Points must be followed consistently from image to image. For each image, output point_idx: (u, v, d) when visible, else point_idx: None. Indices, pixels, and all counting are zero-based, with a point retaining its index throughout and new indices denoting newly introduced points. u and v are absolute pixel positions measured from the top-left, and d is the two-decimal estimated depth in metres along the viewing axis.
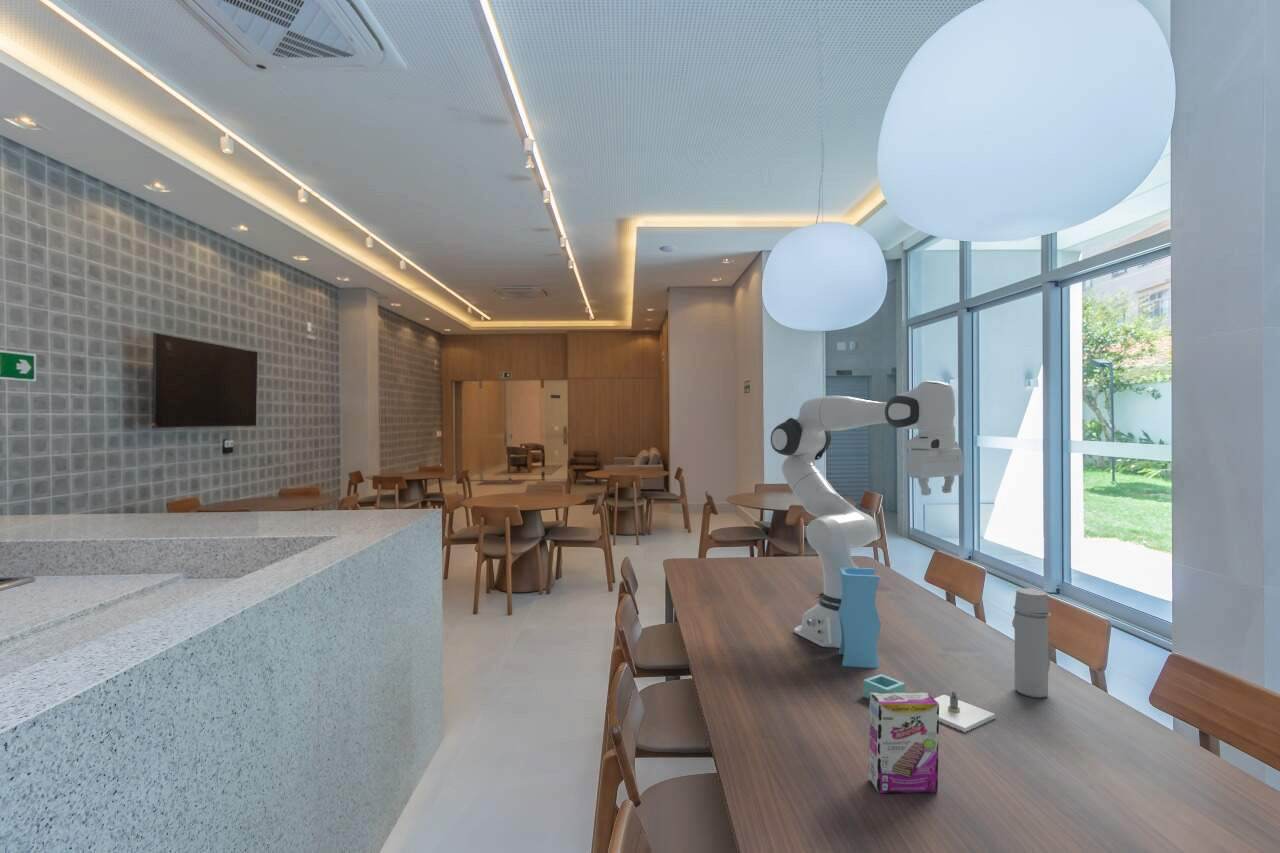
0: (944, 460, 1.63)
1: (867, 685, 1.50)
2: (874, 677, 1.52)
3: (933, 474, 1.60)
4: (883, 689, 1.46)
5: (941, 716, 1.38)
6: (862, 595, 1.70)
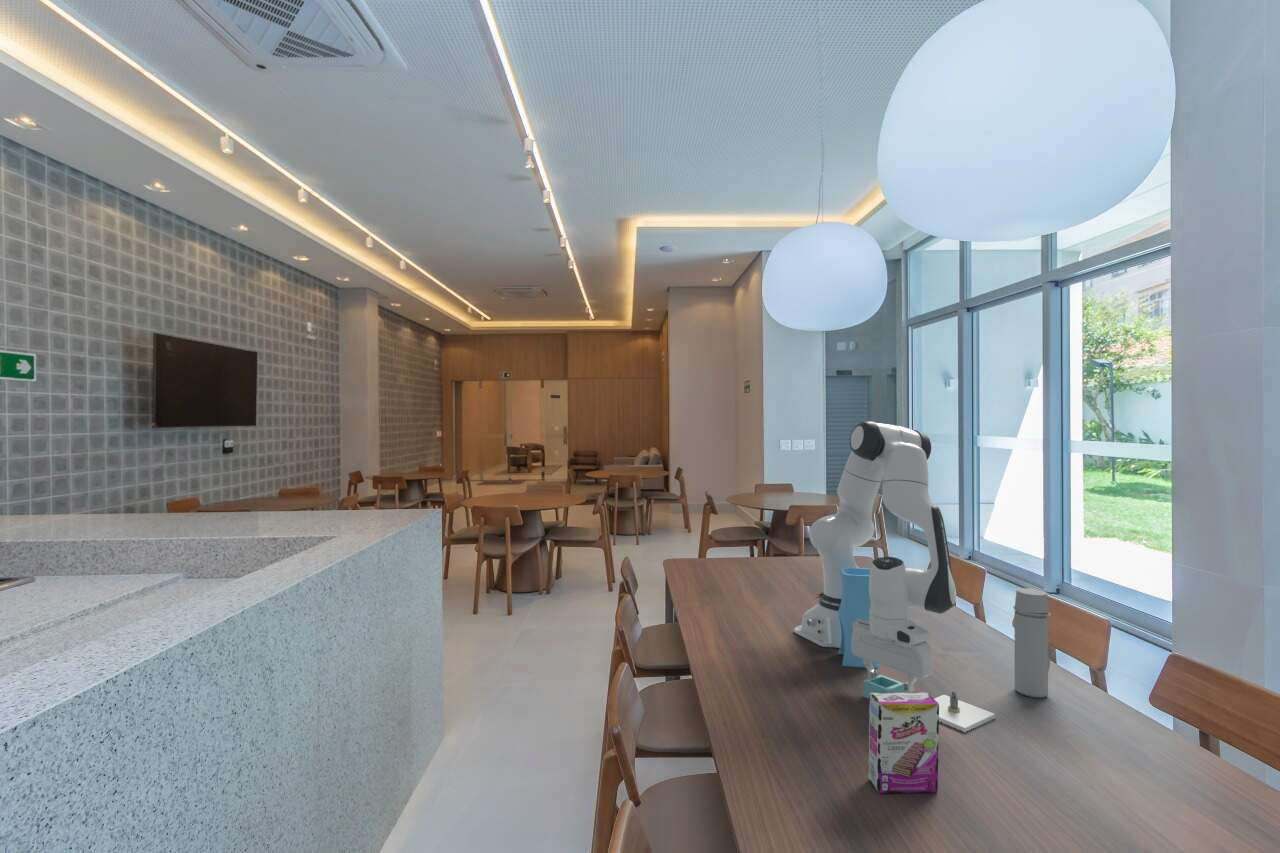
0: None
1: (867, 686, 1.50)
2: (874, 678, 1.52)
3: None
4: (883, 689, 1.46)
5: (941, 716, 1.38)
6: (862, 595, 1.70)
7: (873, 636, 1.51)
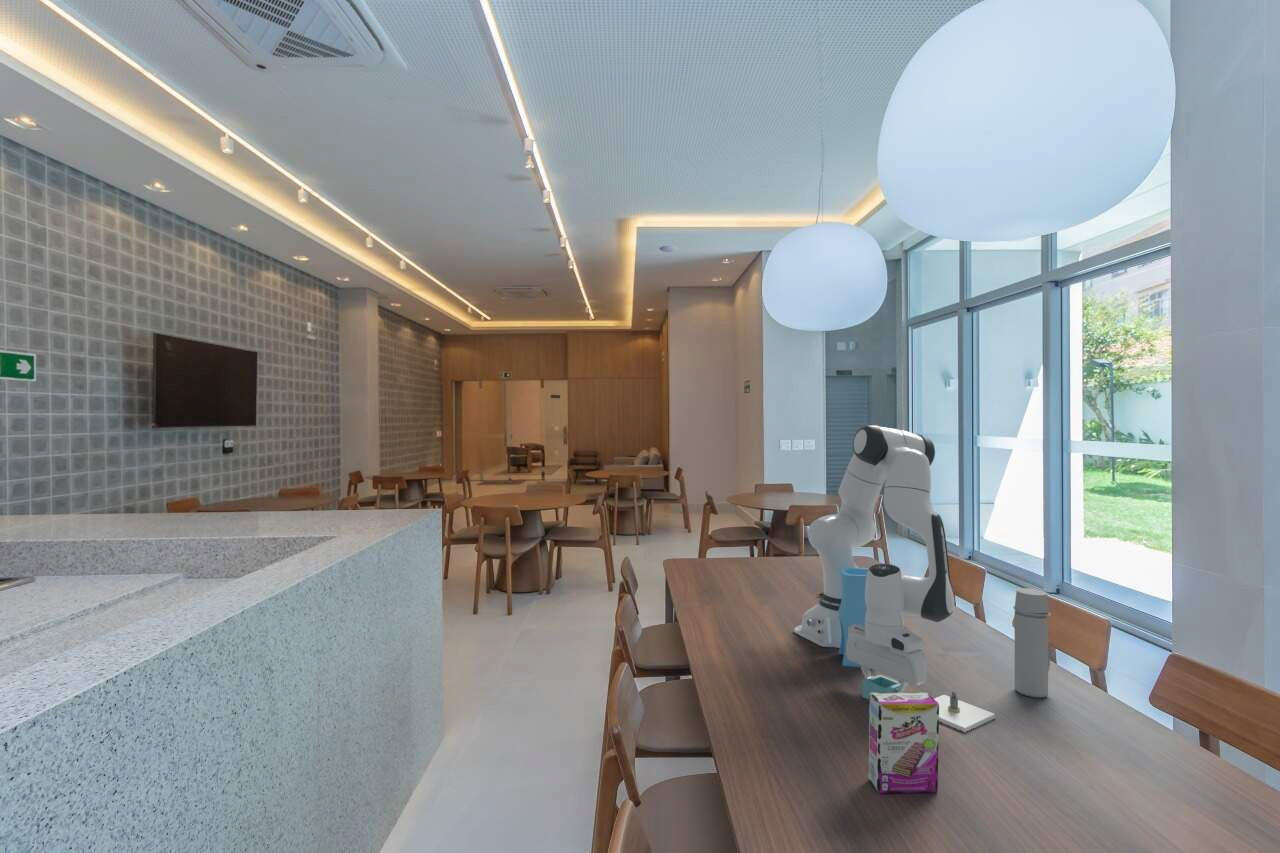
0: None
1: (866, 686, 1.49)
2: (873, 678, 1.52)
3: None
4: (882, 690, 1.46)
5: (941, 716, 1.38)
6: (862, 595, 1.70)
7: (868, 642, 1.51)
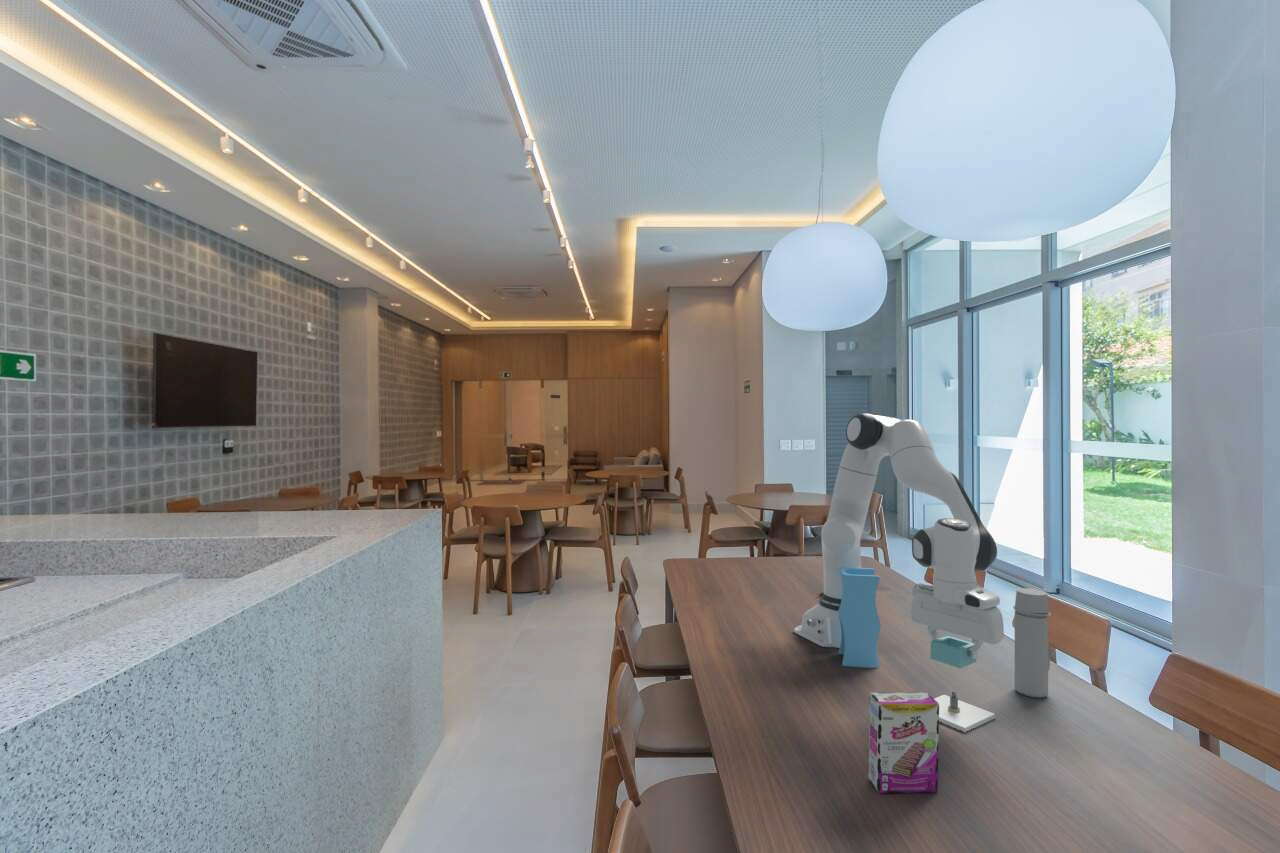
0: None
1: (936, 647, 1.41)
2: (941, 638, 1.43)
3: None
4: (954, 650, 1.37)
5: (941, 716, 1.38)
6: (862, 595, 1.70)
7: (937, 601, 1.43)
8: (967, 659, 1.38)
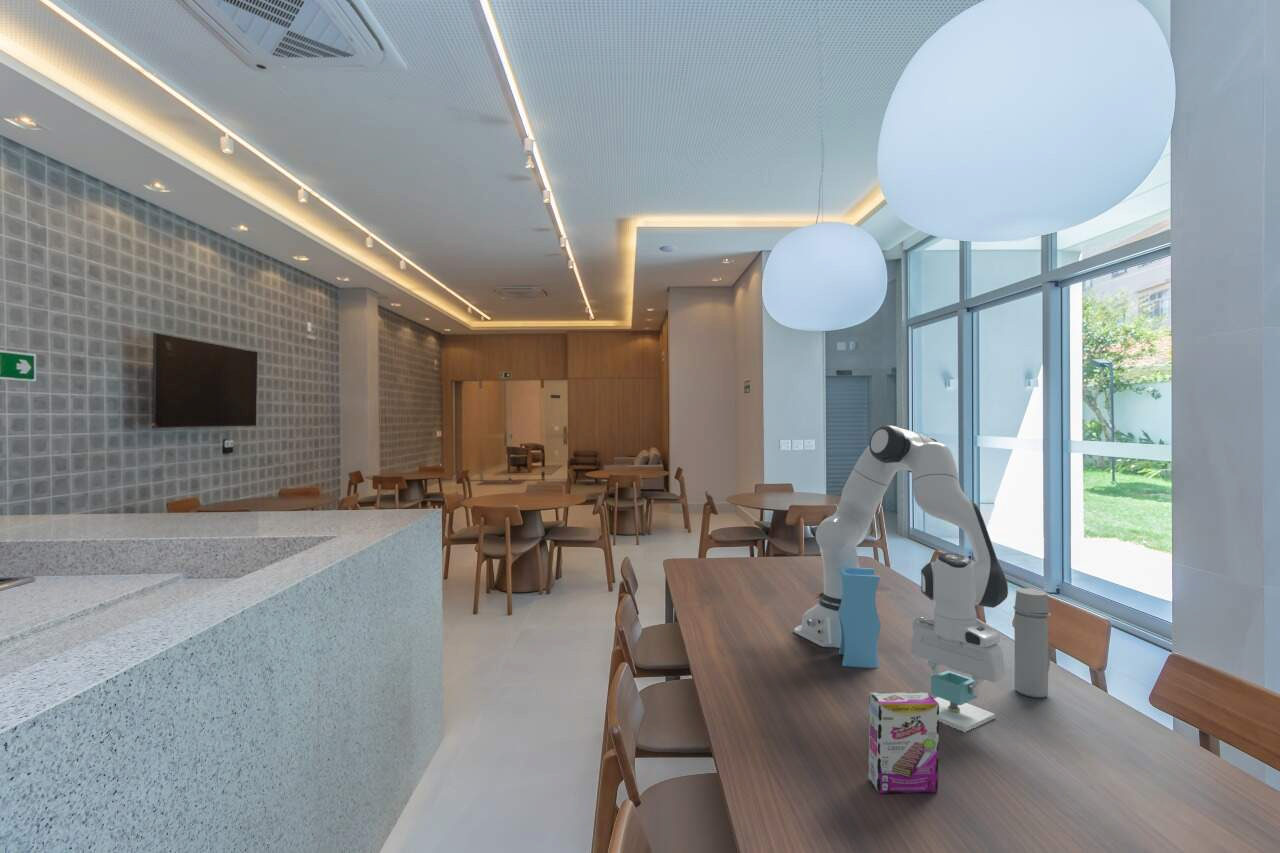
0: None
1: (936, 682, 1.41)
2: (942, 674, 1.43)
3: None
4: (955, 686, 1.37)
5: (941, 716, 1.38)
6: (862, 595, 1.70)
7: (937, 637, 1.43)
8: (967, 695, 1.38)
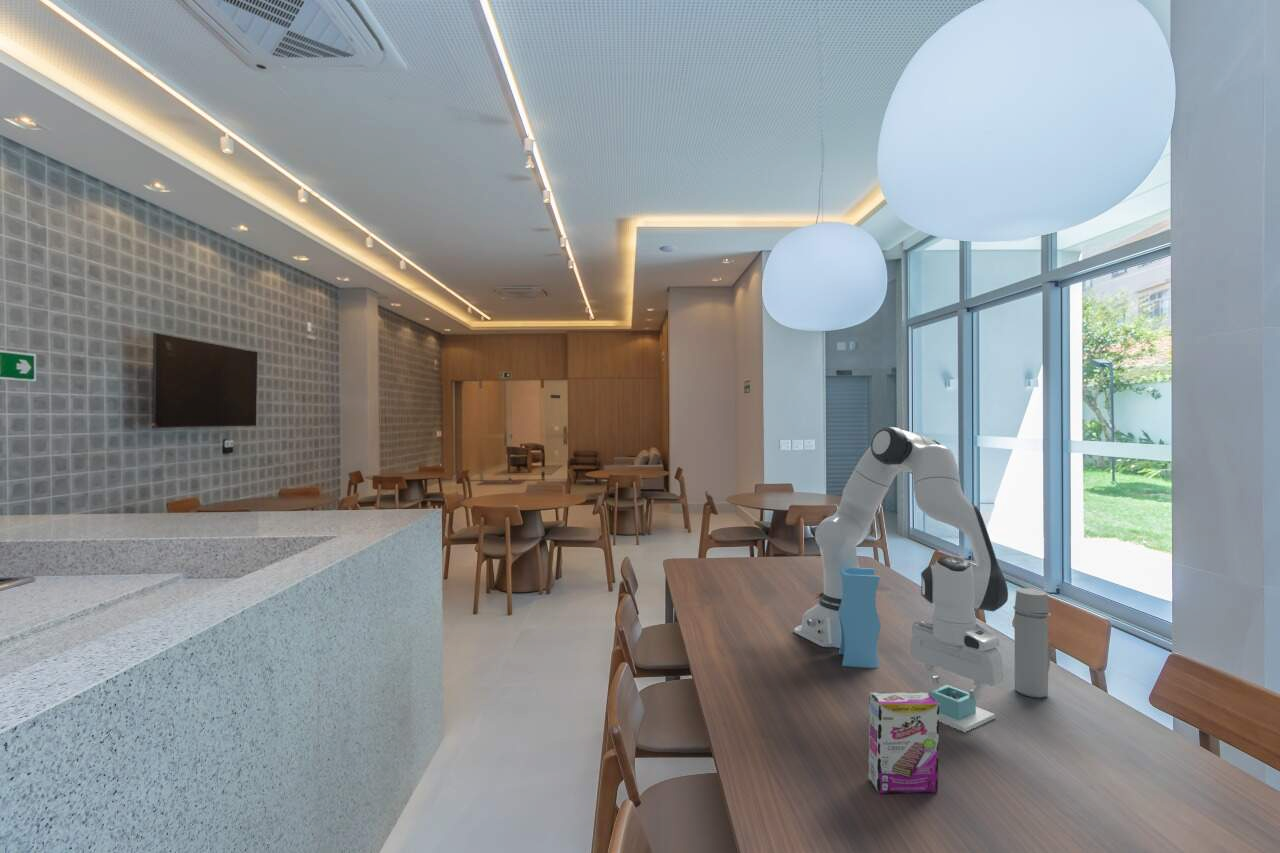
0: None
1: (935, 697, 1.41)
2: (941, 688, 1.44)
3: None
4: (953, 701, 1.37)
5: (941, 716, 1.38)
6: (862, 595, 1.70)
7: (936, 640, 1.43)
8: (966, 711, 1.38)
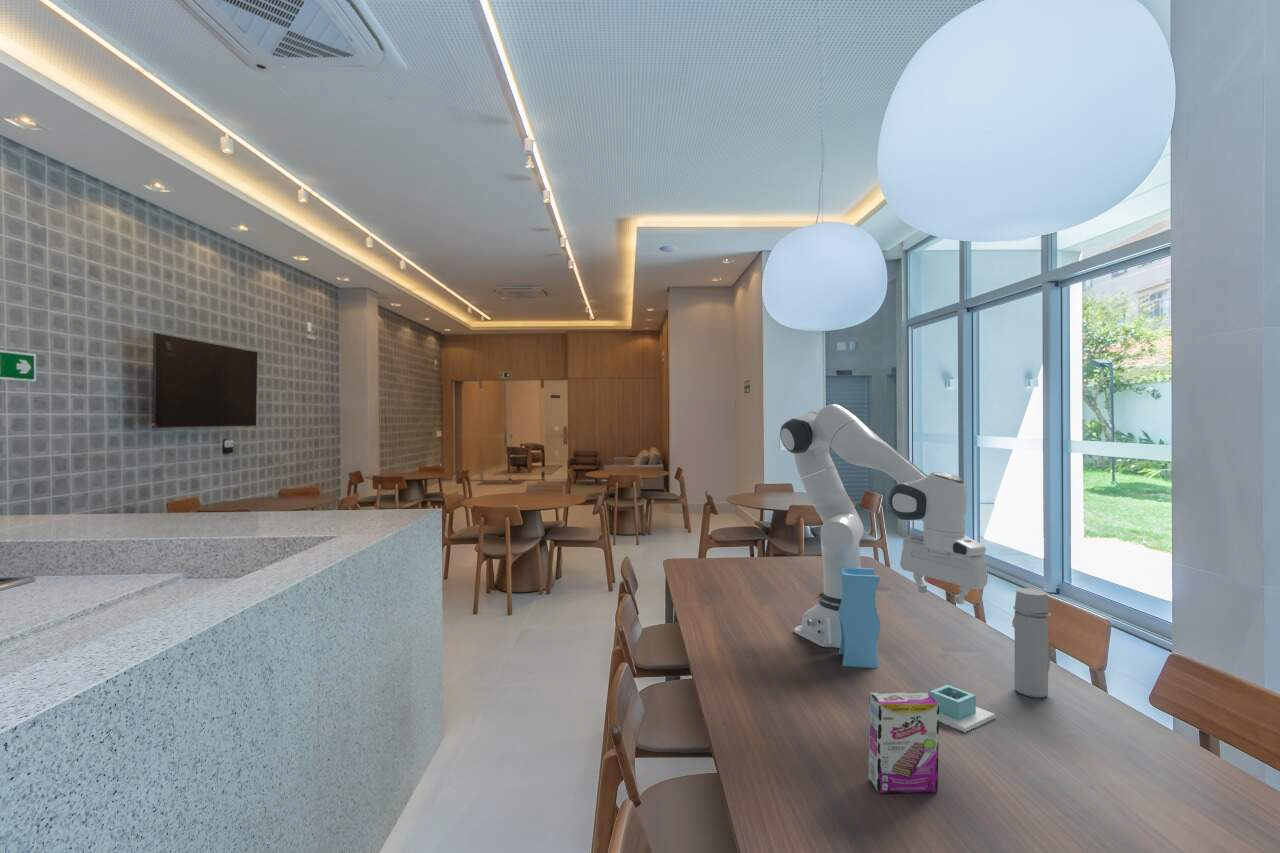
0: None
1: (935, 697, 1.41)
2: (941, 688, 1.44)
3: None
4: (953, 701, 1.37)
5: (941, 716, 1.38)
6: (862, 595, 1.70)
7: (926, 550, 1.50)
8: (966, 711, 1.38)
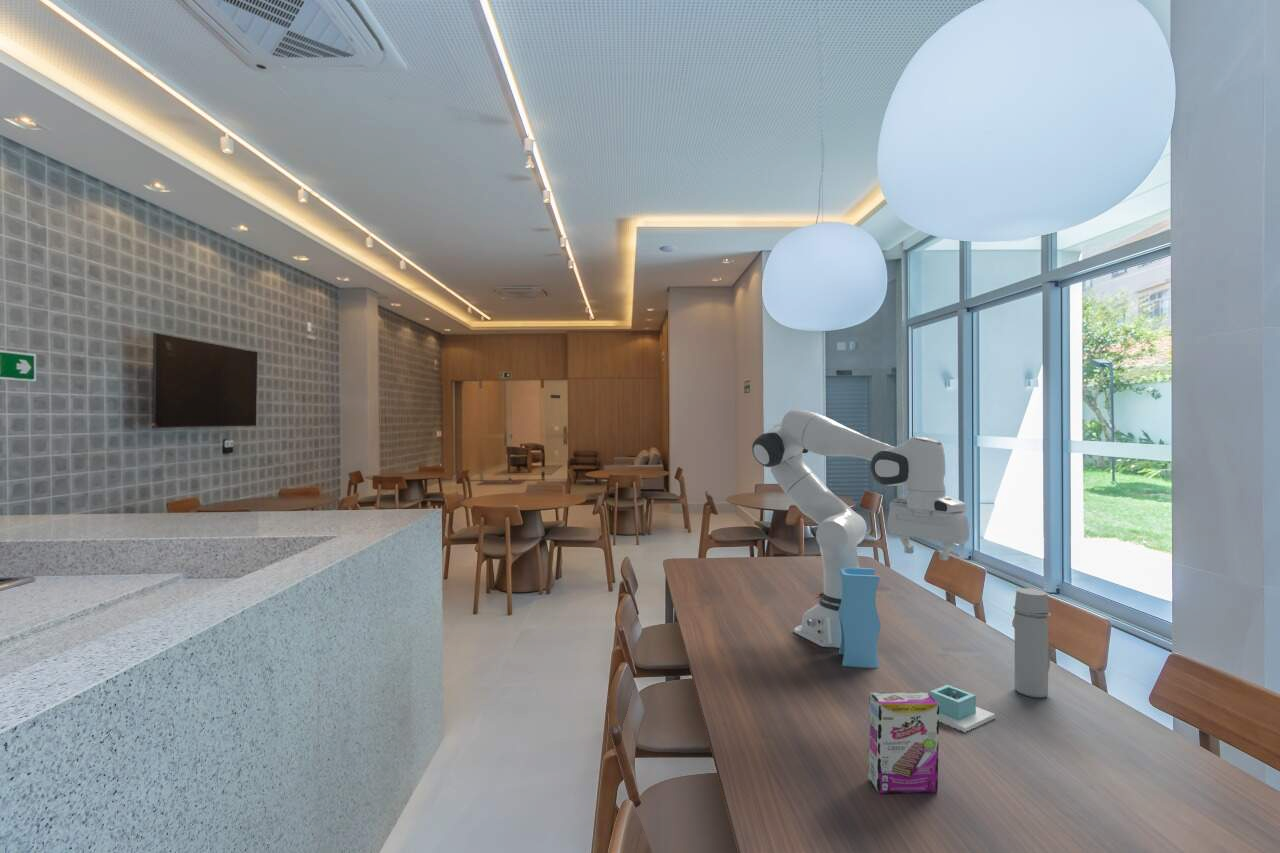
0: None
1: (935, 697, 1.41)
2: (941, 688, 1.44)
3: None
4: (953, 701, 1.37)
5: (941, 716, 1.38)
6: (862, 595, 1.70)
7: (910, 511, 1.57)
8: (966, 711, 1.38)
